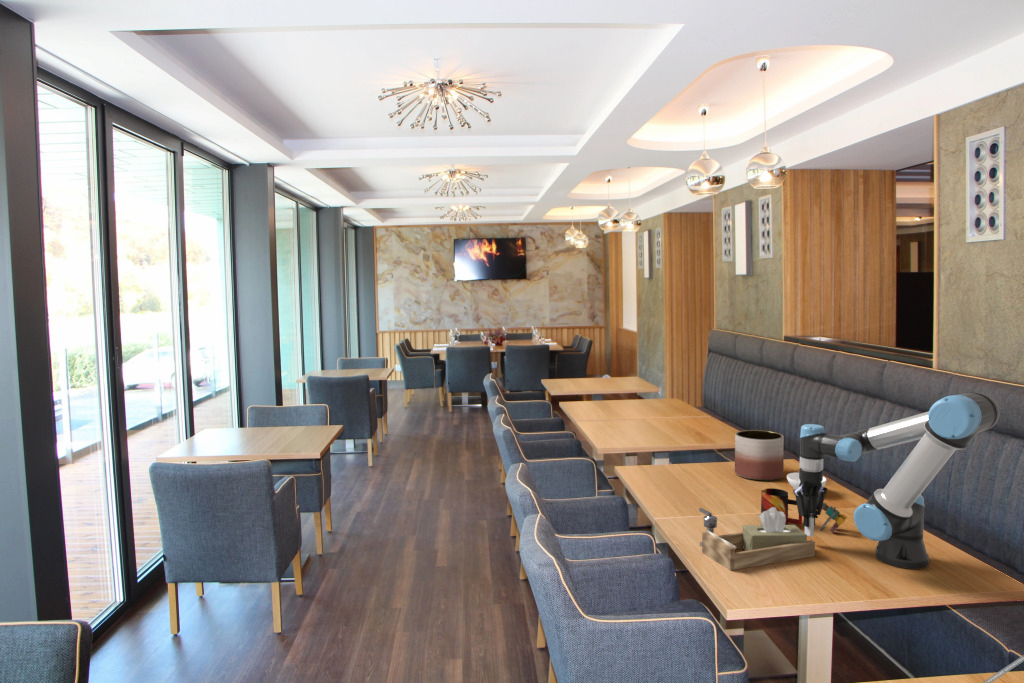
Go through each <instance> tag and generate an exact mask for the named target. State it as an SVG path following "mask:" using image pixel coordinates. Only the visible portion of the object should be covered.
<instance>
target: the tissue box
mask: <svg viewBox="0 0 1024 683" xmlns="http://www.w3.org/2000/svg"><path fill="white" fill-rule="evenodd" d="M757 515H758V518H759V519H760V522H761V524H758V525H757V524H755V525H754V524H753V525H752V524H749V525H745V524H744V525H742V530H741V532H742V533H743V549H744V551H749V550H755V549H761V548H767V547H773V546H779V545H785V544H791V543H802V542H807V541H808V535H806V534H805V533H804V531H803V530H801V529H800V528H799V527H798V526H796V524H788V525H785V522H786V517H785V514H784V512H780V511H777V510H776V507H772V508H770V509H769V510H767V511H764V512H762V513H761V512H760V513H758V514H757Z"/></svg>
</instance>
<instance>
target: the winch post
mask: <svg viewBox="0 0 1024 683" xmlns="http://www.w3.org/2000/svg"><path fill="white" fill-rule="evenodd" d="M698 511H699V512H700V513H702V514H704V516H703V527H705V528H706V530H708V531H710V532H712V533H713V534H715V529H716V528H717V527H718V518H717V516H715V515H712V512H710V511H709V510H706V509H704V508H702V507H699V508H698ZM699 545H700V546H701V547H702V541H700V542H699Z"/></svg>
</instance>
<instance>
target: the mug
mask: <svg viewBox="0 0 1024 683" xmlns="http://www.w3.org/2000/svg"><path fill="white" fill-rule="evenodd" d="M760 493H761V494H760V495H761V496H760V498H761V499H760V502H761V503H760V514H761V513H762V512H764V511H767V510H769V509H770V508H772V507H776V510H777V511H780V512H784V514H785V517H786V522H785V525H787V524H788V523H789V524H790V523H791V524H794V525H801V526H802V525H803V516H801V515H799V514H798V519H797V518H792V517H791V518H790V517H789V505H790V506H792V505H793V506H797V502H796V499H790V498H789V492H788V491H787V490H784V489H781V488H772V487H771V488H769V487H768V488H763V489H761V491H760ZM789 524H788V525H789Z"/></svg>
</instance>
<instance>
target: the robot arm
mask: <svg viewBox="0 0 1024 683" xmlns="http://www.w3.org/2000/svg"><path fill="white" fill-rule="evenodd" d="M999 418H1000V408H999V405H998V403H997V402H996V401H995V399H994V398H992V397H991V396H990V395H988V394H986V393H983V392H978V391H969V392H966V393H965V392H964V393H960V394H952V395H948V396H945V397H942V398H940V399H939V400H937V401H935V402H934V403H933V404H932V405H931V407H930V408H929V411H925V412H922V413H919V414H915V415H912V416H908V417H907V416H906V417H904V418H900V419H898V420H894V421H890V422H887V423H884V424H879V425H877V426H873V427H870V428H866V429H861V430H859V431H854V432H851V433H845V434H841V435H836V434H831V433H830V434H829V433H826V431H825V427H824V426H823V425H821V424H816V423H815V424H813V423H807V424H806V423H805V424H803V425H801V427H800V436H799V465H798V466H799V470H798V472H799V479H800V484H799V488H798V489H797V490H795V489H794V488H793V490H792V492H793V495H794V496H795V500H796V502H797V505H796V508H797V512H798V516H799V515H801V516H802V518H803V522H802V525H803V526H804V531H803V532H804V533H805V534H806V535H807V537H812V538H813V537H815V535H814V534H815V533H814V532H815V525H816V519H818V518H819V516H820V515H821V514H822V506H823V503H824V500H825V495H826V493H827V492H828V488H827V487H825V486H824V487H823V486H822V483H821V482H822V481H823V477H824V471H823V470H824V457H829V458H833V459H837V460H841V461H843V462H857V461H858V460H859V459H860V457H861V455H863V454H868V453H872V452H876V451H878V450H879V451H880V450H883V449H886V448H890V447H894V446H898V445H903V444H907V443H911V442H916V441H918V440H919V441H918V443H917V444H916V445H915V446H914V448H913V449H912V450H911V451H910V453H909V455H908V456H906V459H904V461H903V463H901V465H900V466H899V468H898V469H897V470H896V471H895V473H894V475H893V476H892V477H890V478H891V479H890V480H889V481H888V483H887V484H886V485H885V486H884V488H878V489H875V491H874V492H873V493H872V494H871V496H870V497H869V499H868V500H866V502H865V503H861V504H860V505H858V506H857V507H856V508H855V510H854V511H853V512H854V513H853V521H854V525H855V527H856V528H857V530H858V531H859V533H860V534H862V536H864V537H865V538H867V539H868V540H870V541H874V542H877V545H876V547H875V553H874V556H875V558H876V559H877V560H878V561H880V562H882V563H885V564H887V565H890V566H893V567H898V568H901V569H909V570H920V569H921V570H922V569H926V568H927V567H928V566H929V565H930V557H929V554H928V553H927V549H926V548H927V547H926V546H925V542H924V527H925V525H924V524H925V519H924V518H925V507H926V505H925V498H924V496H923V495H922V493H924V491H925V489H926V488H927V487H928V486H929V484H930V483H932V481H933V479H934V478H935V477H936V476H937V475H938V473H939V472H940V471H941V469H942V468H944V466H945V464H946V463H947V462H948V461H949V459H951V457H952V455H953V454H954V453H955V452H956V451H959V450H965V449H966V448H967V447H968V446H969V445H970V443H971V442H972V441H973V439H974V438H975V437H976V436H977V434H979V433H982V432H985V431H988V430H990V429H992V428H993V427H994V426H995V425H996V424H997V423H998V422H999Z"/></svg>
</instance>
